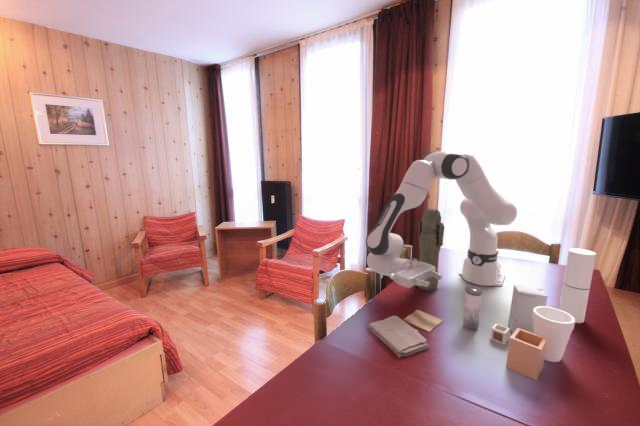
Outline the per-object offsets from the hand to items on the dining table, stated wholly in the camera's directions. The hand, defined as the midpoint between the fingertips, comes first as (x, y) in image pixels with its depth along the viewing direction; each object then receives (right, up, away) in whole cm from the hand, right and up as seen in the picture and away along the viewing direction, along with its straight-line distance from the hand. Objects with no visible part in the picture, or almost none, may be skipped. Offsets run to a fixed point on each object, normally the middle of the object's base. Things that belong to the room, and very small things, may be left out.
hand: (435, 280), depth 108 cm
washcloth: (-17, -16, -12) cm, 26 cm away
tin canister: (+9, -14, -7) cm, 18 cm away
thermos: (+6, -8, +24) cm, 27 cm away
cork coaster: (-5, -14, -3) cm, 15 cm away
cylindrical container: (+48, -13, -1) cm, 50 cm away
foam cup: (+25, -17, -21) cm, 37 cm away
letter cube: (+15, -16, -14) cm, 26 cm away
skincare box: (+26, -15, -9) cm, 31 cm away
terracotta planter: (+15, -18, -26) cm, 35 cm away
